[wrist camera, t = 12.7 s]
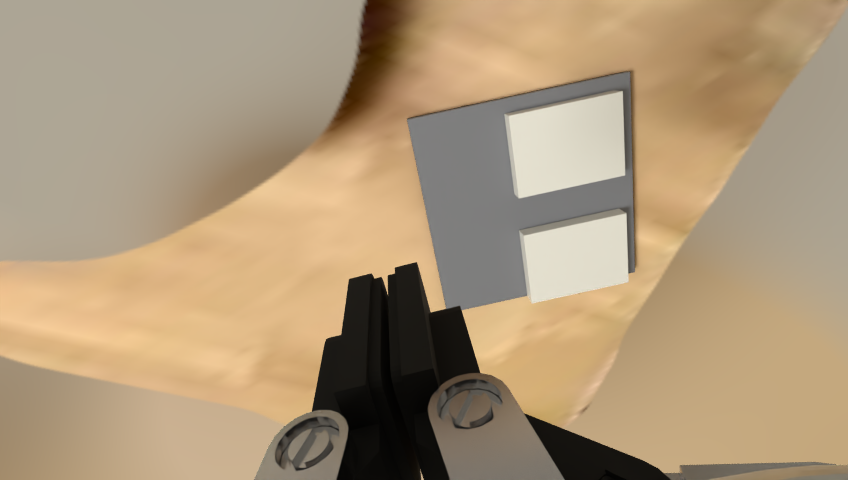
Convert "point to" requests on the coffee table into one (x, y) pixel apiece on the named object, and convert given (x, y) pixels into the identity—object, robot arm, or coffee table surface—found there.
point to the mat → (501, 192)
